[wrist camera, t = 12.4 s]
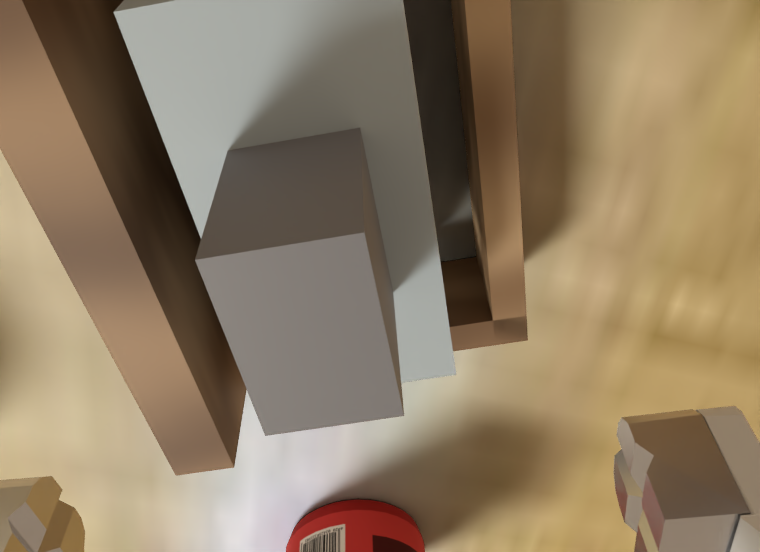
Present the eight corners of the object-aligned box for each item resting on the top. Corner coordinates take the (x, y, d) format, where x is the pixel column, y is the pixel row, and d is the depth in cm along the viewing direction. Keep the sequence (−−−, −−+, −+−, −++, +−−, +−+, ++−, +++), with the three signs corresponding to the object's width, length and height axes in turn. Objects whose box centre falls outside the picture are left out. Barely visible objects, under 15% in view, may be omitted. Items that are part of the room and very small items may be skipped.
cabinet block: (384, -106, 21) (420, 26, 11) (433, 231, 28) (482, 500, 18) (184, -67, 21) (37, 95, 11) (282, 255, 28) (248, 531, 18)
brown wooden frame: (507, 275, 29) (553, 423, 23) (212, 321, 30) (175, 475, 24) (470, -266, 18) (536, -277, 12) (13, -173, 19) (-154, -136, 13)
